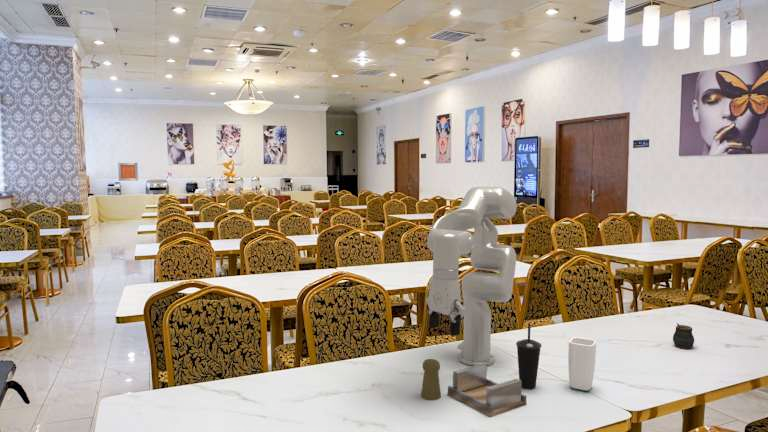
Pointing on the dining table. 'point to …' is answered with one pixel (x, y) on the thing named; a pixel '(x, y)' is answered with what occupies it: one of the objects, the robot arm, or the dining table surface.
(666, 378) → the dining table surface
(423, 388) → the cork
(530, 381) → the drinking cup
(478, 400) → the base
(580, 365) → the cup
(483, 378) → the sliding jaw
